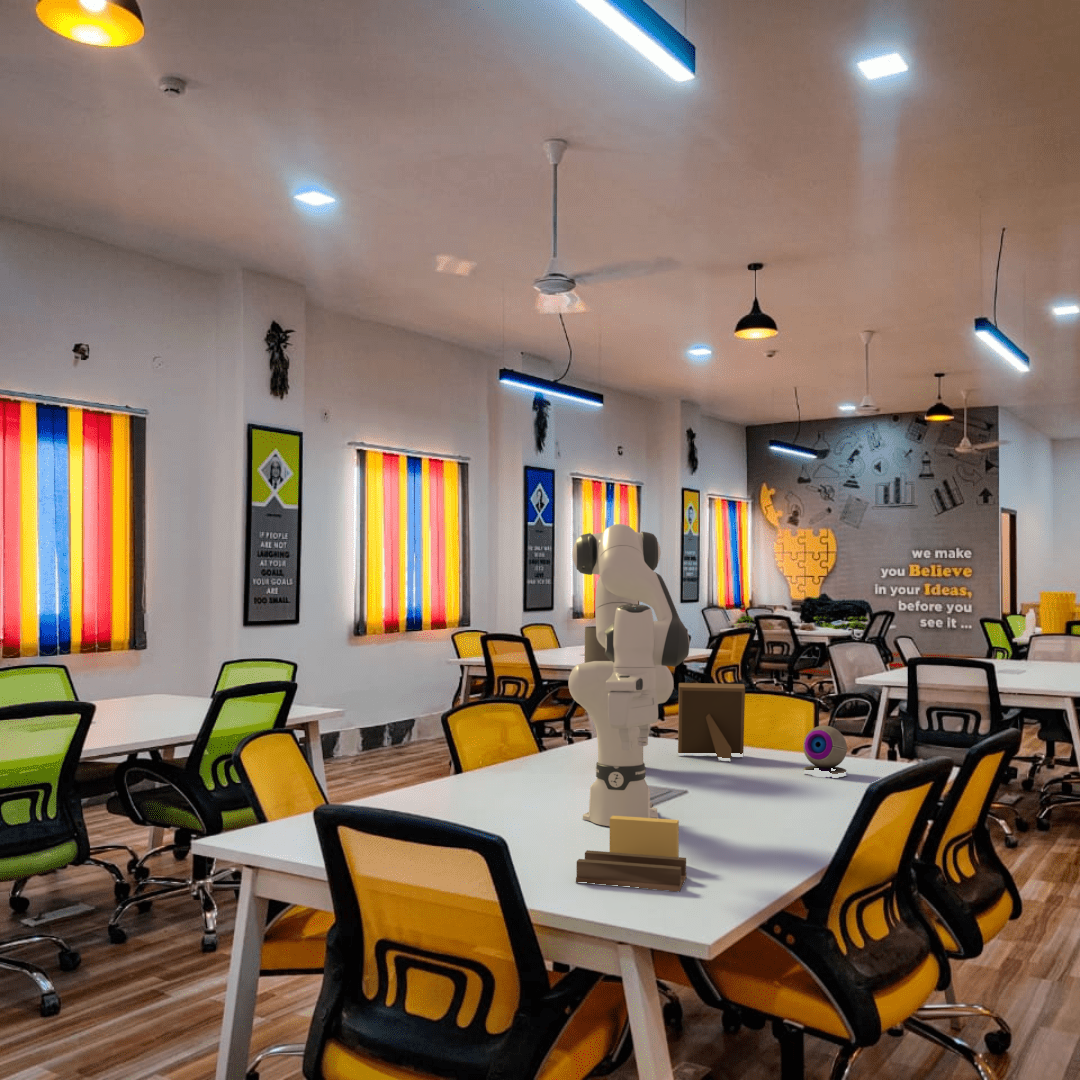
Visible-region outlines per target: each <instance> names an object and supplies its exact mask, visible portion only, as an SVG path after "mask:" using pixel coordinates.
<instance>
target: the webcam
mask: <svg viewBox="0 0 1080 1080" xmlns="http://www.w3.org/2000/svg"><path fill="white" fill-rule="evenodd" d="M803 739H804V740H803V753H804V756H805V757H806V759H807V760H808V762H810V763H811V764H812V765H809V766H808V765H807V766H805V767H803V770H814V768H819V770H821V771H829V772H830V773H832V774H838V773H844V772H846V771H847V769H845V768H843V767H839V766H838V765H840V764H841V763H842V762H843V761H844V760H845V757H846V755H847V753H848V744H847V740H846V738H845V736H844V735H843V734H842V733H841V731H840V730H839V729H836V728H835V727H833V726H830V725H818V726H816V727H813V728H812V729H811V730H810V731H808V733H807V734H806V735H805V737H804V738H803ZM831 768H833V769H836V770H835V771H831Z"/></svg>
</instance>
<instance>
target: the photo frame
mask: <svg viewBox="0 0 1080 1080" xmlns="http://www.w3.org/2000/svg"><path fill="white" fill-rule="evenodd" d="M745 697H746V687H745V683H712V682H710V683H708V682H707V683H706V682H704V683H701V682H697V683H696V682H693V683H692V682H679V683H678V714H677V715H678V720H677V722H678V725H677V726H678V728H677V729H678V730H677V731H678V732H677V734H678V735H677V754H678V753H716V754H717V757H722V758H731V753H740V754H742V753H743V754H744V748H745V747H744V744H745V743H744V742H745V710H746V709H745V707H746V706H745V705H746V698H745ZM717 757H716V758H717ZM731 759H732V758H731Z"/></svg>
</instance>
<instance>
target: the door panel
mask: <svg viewBox="0 0 1080 1080" xmlns="http://www.w3.org/2000/svg"><path fill="white" fill-rule="evenodd" d="M679 823H680V820H679V819H671V818H670V819H669V818H659V819H657V818H642V817H627V816H612V817H611V818H610V826H609V852H616V853H629V854H643V855H656V856H669V857H679V855H680V854H679V852H680V851H679V849H680V848H679V847H680V843H679V841H680V839H679V838H680V837H679V836H680V835H679V834H680V833H679V827H680V825H679Z"/></svg>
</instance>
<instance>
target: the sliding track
mask: <svg viewBox="0 0 1080 1080" xmlns="http://www.w3.org/2000/svg"><path fill="white" fill-rule="evenodd" d="M685 879H687V857H683V856H681V857H669V856H656V855H643V854H629V853H616V852H610V851H599V850H588V849H587V850H586V851H585V852H584V859H583V858H578V859H577V860H576V876H575V883H576V882H587V883H595V884H606V885H618V886H630V887H639V888H638V889H640V888H648V889H647V890H652V889H657V890H656V891H664V890H669V891H668V892H676V891H680V892H681V890H682V888H683V886H684V884H685V882H686V880H685ZM684 881H685V882H684ZM683 883H684V884H683ZM682 885H683V886H682ZM681 887H682V888H681ZM680 889H681V890H680Z"/></svg>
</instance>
